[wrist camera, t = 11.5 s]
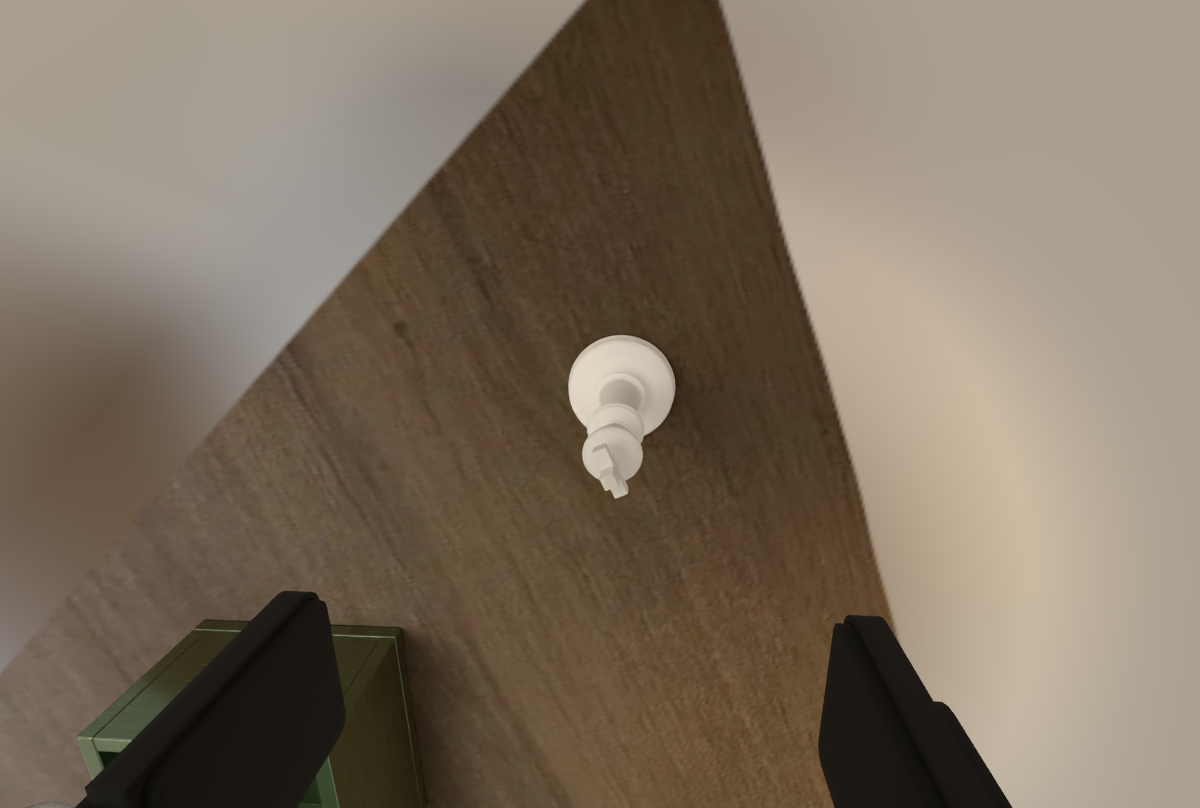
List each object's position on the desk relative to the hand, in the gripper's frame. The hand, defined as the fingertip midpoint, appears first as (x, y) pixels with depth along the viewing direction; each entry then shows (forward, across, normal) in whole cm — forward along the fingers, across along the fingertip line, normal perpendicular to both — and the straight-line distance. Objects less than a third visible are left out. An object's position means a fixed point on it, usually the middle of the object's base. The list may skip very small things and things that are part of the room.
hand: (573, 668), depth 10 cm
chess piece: (+17, 0, 0) cm, 17 cm away
